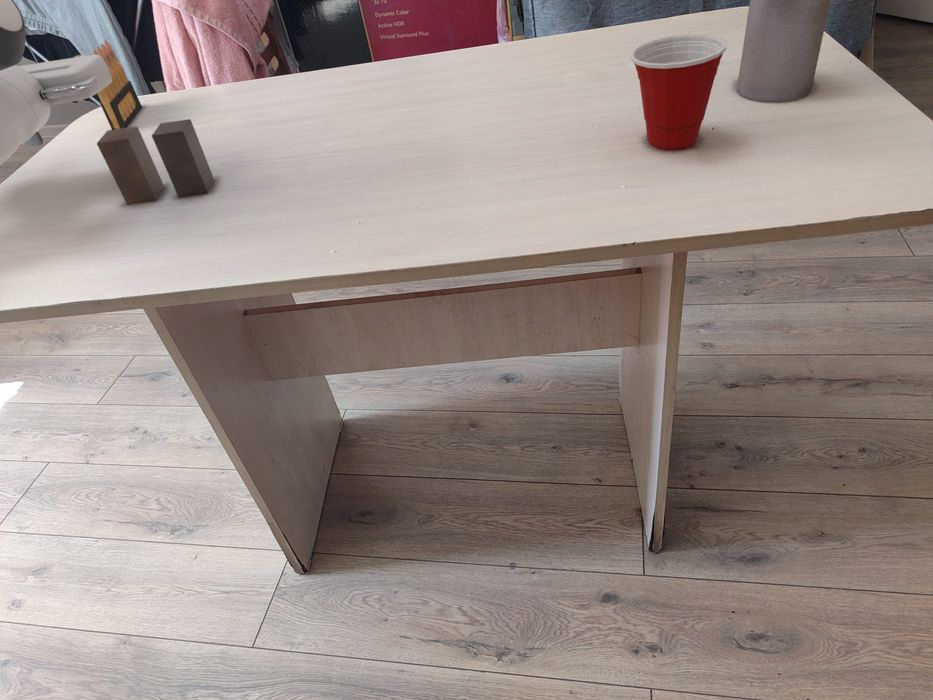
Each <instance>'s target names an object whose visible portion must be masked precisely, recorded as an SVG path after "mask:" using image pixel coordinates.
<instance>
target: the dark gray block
mask: <svg viewBox="0 0 933 700" xmlns="http://www.w3.org/2000/svg"><path fill="white" fill-rule="evenodd" d="M151 138H152V140H153V142H154V144H155V147H156V149H157V151H158V153H159V156H160V158H161V160H162V163H163V165H164V168H165V170H166V172H167V174H168V177H169V179H170V182H171V183H172V185H173V188H174V190H175V192H176V195H177V197H178V199H179V198H186V197H193V196H194V197H195V196H200V195H201V196H202V195H208V194H209V192H210V190H211V189H212V186H213V184H214V182H215V178H214V175H213V173H212V170H211V168H210V165H209V163H208V160H207V158H206V154H205V152H204V150H203V147H202V145H201V142H200V139H199V137H198V135H197V132H196V129H195V126H194V124H193V122H192V119H190V118H188V119H181V120H173V121H165V122H161V123H159V124H158V126H157V127H156V129H155V130H154V132H153V133H152V134H151Z"/></svg>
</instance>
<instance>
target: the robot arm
mask: <svg viewBox="0 0 933 700" xmlns="http://www.w3.org/2000/svg"><path fill="white" fill-rule="evenodd" d="M25 23H26V22H25V18H24V16H23V14H22V11H21V9H20V8H19V6H18V5H17V4H16V2H15V1H14V0H0V166H1V165H3V164H4V163H5V162H6V161H8V160H9V159H10V158H11V157H12V156H13V155H14V154H15V153H16V152H17V150H18V148H19V147H20V146H21V145H22V144H25V143H26V142H28V141H29V140H30V139H31V138H32V137H33V136H34V135H35V134H36V133H37V132H38V131H39V130H41V128H43V127H44V126H45V125H46V124H47V122H48V121H49V119H50V116H51V110H52V109H51V105H52V106H53V105H58V104H65V103H66V104H67V103H71V102H72V103H73V102H78V101H83V100H86V99H89V98H91V97H93V96H96V95H98V94H97V93H98V92H100V91H101V90H103V89H104V88H105V87H106V86H108V85H109V84H110V83H111V82H112V76H111V73H110V71H109V69H108V66H107V64H106V62H105V61H104V59H103V58H102V57H101V56H99V55H94V54H92V55H90V54H89V55H87V54H86V53H84V54H78V55H75V56H73V57H70V58H63V59H57V60H50V61H44V62H43V61H42V62H37V63H30V64H23V65H21V64H19V63H20V62H21V61H22V59H23V56H24V52H25V48H26V39H27V37H26V36H27V35H26V34H27V33H26V32H27V31H26V24H25Z"/></svg>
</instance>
